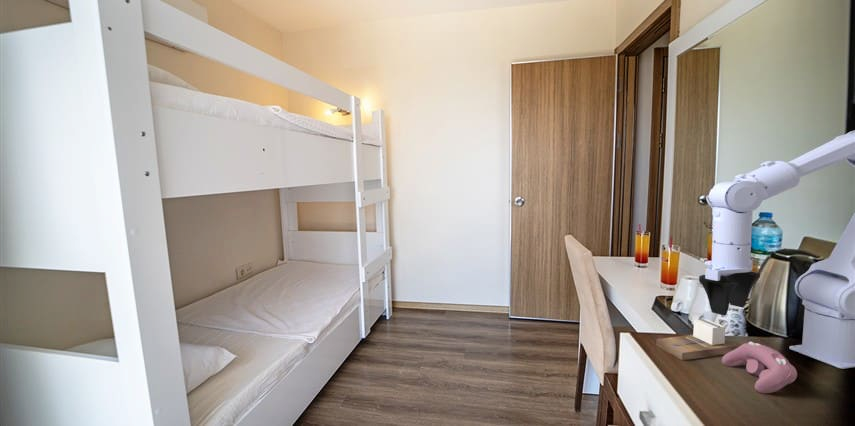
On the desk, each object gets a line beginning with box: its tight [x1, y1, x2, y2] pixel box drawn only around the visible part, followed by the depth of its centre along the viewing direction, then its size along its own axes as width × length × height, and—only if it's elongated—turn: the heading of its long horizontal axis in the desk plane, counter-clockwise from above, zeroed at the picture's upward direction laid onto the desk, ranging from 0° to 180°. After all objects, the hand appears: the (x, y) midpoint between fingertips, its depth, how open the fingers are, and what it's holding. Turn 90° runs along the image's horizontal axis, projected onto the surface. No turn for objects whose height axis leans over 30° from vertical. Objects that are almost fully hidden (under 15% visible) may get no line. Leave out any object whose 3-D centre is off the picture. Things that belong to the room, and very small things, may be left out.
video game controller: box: [721, 341, 798, 394], centre depth 59 cm, size 10×5×7 cm, turn 169°
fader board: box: [655, 334, 739, 361], centre depth 70 cm, size 13×6×2 cm, turn 100°
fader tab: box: [692, 318, 726, 345], centre depth 70 cm, size 3×4×4 cm
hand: (728, 309), depth 68 cm, fingers open, 7 cm apart
